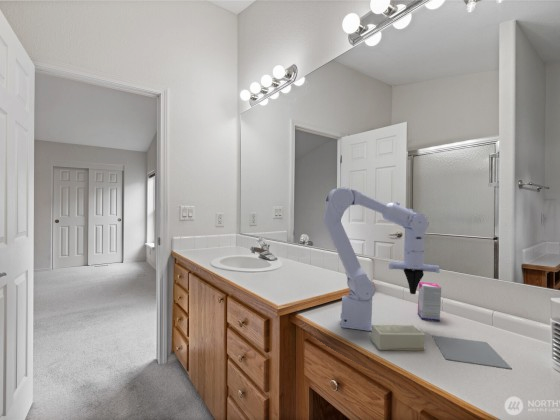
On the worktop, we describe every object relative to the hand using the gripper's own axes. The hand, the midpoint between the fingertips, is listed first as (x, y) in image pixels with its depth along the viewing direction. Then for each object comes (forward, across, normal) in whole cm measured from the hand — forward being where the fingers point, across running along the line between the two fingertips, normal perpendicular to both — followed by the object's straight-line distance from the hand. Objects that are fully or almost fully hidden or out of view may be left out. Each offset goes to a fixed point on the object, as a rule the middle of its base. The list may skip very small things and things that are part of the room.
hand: (412, 293), depth 92 cm
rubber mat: (+10, +12, -13) cm, 20 cm away
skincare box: (+8, 0, -14) cm, 16 cm away
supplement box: (+11, +7, +10) cm, 16 cm away
